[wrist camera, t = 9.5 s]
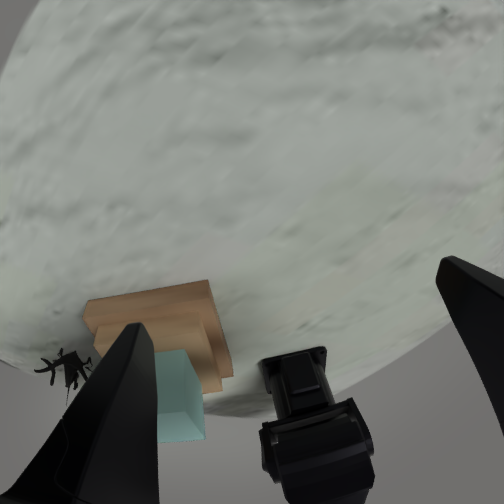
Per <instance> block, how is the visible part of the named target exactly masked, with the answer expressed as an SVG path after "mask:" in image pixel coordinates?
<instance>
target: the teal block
mask: <svg viewBox="0 0 504 504" xmlns="http://www.w3.org/2000/svg"><path fill="white" fill-rule="evenodd" d="M154 354H155V369H156V381H157V394H158V414H157V443H166V442H182V441H194V440H205V439H206V436H205V424H204V411H203V397H202V385H201V383H200V381H199V378H198V376H197V374H196V372H195V370H194V368H193V366H192V364H191V362H190V360H189V357H188V355H187V353H186V351H185V349H180V350H173V351H165V352H157V353H154Z"/></svg>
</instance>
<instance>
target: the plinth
mask: <svg viewBox="0 0 504 504" xmlns="http://www.w3.org/2000/svg"><path fill="white" fill-rule="evenodd" d="M82 319H83V320H84V322H85V323H86V325H87V327H88V328H89V330H90V331H91V333H92V334H93V336H94V337H95V341H94V345H93V346H94V347H95V349H96V350H97V352H98V353H99V354H100V356H101V357H102V358H103V356H104V355H105V354H106V352H107V351H108V349H109V348H110V347H111V345H112V344H113V343H114V341H115V340H116V338H117V337H118V336H119V334H120V333H121V332H122V330H123V329H124V328H125V326H126V325H127V324H129V323H134V322H142V323H143V324H144V326H145V328H146V330H147V332H148V334H149V336H150V337H151V339H152V341H153V345H154V353H157V352H165V351H173V350H180V349H185V351H186V353H187V355H188V357H189V360H190V362H191V364H192V366H193V368H194V370H195V372H196V374H197V376H198V378H199V381H200V383H201V385H202V394H206V393H213V392H220V391H223V390H222V381H221V378H227V377H233V376H234V375H233V368H232V361H231V357H230V354H229V350H228V347H227V344H226V340H225V337H224V334H223V330H222V327H221V324H220V320H219V317H218V313H217V310H216V307H215V303H214V300H213V296H212V293H211V289H210V285H209V282H208V280H203V281H197V282H192V283H186V284H181V285H175V286H170V287H164V288H158V289H153V290H147V291H141V292H136V293H130V294H124V295H118V296H112V297H106V298H101V299H95V300H89V301H88V303H87V305H86V308H85V311H84V314H83V317H82Z"/></svg>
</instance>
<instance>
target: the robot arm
mask: <svg viewBox="0 0 504 504" xmlns="http://www.w3.org/2000/svg"><path fill="white" fill-rule="evenodd" d="M436 285H437V288H438V290H439V292H440V294H441V296H442V298H443V300H444V303H445V305H446V307H447V309H448V312H449V314H450V316H451V319H452V321H453V323H454V325H455V327H456V329H457V331H458V333H459V335H460V336H461V338H462V340H463V342H464V344H465V346H466V348H467V350H468V352H469V354H470V356H471V358H472V360H473V362H474V364H475V367H476V369H477V371H478V373H479V375H480V377H481V380H482V382H483V384H484V387H485V389H486V391H487V394H488V396H489V398H490V401H491V403H492V406H493V408H494V411H495V413H496V416H497V419H498V421H499V423H500V427H501V430H502V433H503V436H504V279H502V278H500V277H498V276H496V275H494V274H492V273H490V272H488V271H486V270H484V269H482V268H479V267H477V266H475V265H473V264H471V263H469V262H466V261H464V260H462V259H460V258H457V257H455V256H448V257H444V258H442V260H441V261H440V265H439V268H438V272H437V275H436ZM326 356H327V350H326V347H323V346H322V347H318V348H314V349H310V350H305V351H301V352H297V353H292V354H288V355H283V356H279V357H274V358H269V359H265V360H263V361H262V368H263V373H264V379H265V384H266V389H267V393H268V394H272V396H273V401H274V405H275V409H276V414H277V418H278V420H276V421H272V422H264V423H262V427H263V428H262V429H261V430H259V436H260V441H261V451H262V468H263V470H264V471H266V472H267V473H269V474H270V476H271V478H272V479H273V481H274V483H275V484H276V483H281V484H282V488H283V492H284V496H285V499H286V500H287V501H288V503H289V504H364V503H365V500H366V497H367V495H368V492H369V489H371V488H372V487H373V483H374V478H375V474H374V470H373V467H372V463H371V459H370V456H372V455H373V454H374V448H373V442H372V438H371V435H370V432H369V429H368V427H367V425H366V423H365V421H364V419H363V417H362V415H361V413H360V412H359V410H358V408H357V406H356V404H355V402H354V400H353V398H352V397H351V398H348V399H347V400H345V401H342V402H339V403H337V404H336V403H335V400H334V398H333V395H332V392H331V389H330V386H329V384H328V381H327V378H326V375H325V366H326ZM157 414H158V394H157V381H156V369H155V354H154V345H153V341H152V339H151V337H150V336H149V334H148V332H147V330H146V328H145V326H144V324H143V323H142V322H134V323H129V324H127V325H126V326H125V328H124V329H123V330H122V332H121V333H120V334H119V336H118V337H117V338H116V340H115V341H114V343H113V344H112V345H111V347H110V348H109V349H108V351H107V352H106V354H105V355H104V356H103V358H102V359H101V361H100V362H99V363H98V365H97V366H96V368H95V369H94V371H93V372H92V373H91V375H90V376H89V378H88V379H87V381H86V382H85V384H84V385H83V386H82V388H81V389H80V391H79V392H78V394H77V396H76V397H75V398H74V400H73V401H72V403H71V404H70V406H69V407H68V409H67V410H66V412H65V413H64V415H63V416H62V418H63V419H60V421H59V423H58V424H57V425H56V427H55V429H54V430H53V431H52V433H51V434H50V436H49V437H48V439H47V440H46V442H45V443H44V445H43V446H42V447H41V449H40V450H39V451H38V453H37V454H36V456H35V457H34V458H33V459H32V461H31V462H30V463H29V465H28V466H27V468H26V469H25V470H24V471H23V473H22V474H21V475H20V477H19V478H18V479H17V481H16V482H15V483H14V484H13V485H12V487H11V488H9V489H8V490H7V491H6V492H4V493H3V494H1V495H0V504H160V502H159V485H158V454H157V452H158V451H157ZM277 442H278V443H277Z"/></svg>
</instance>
